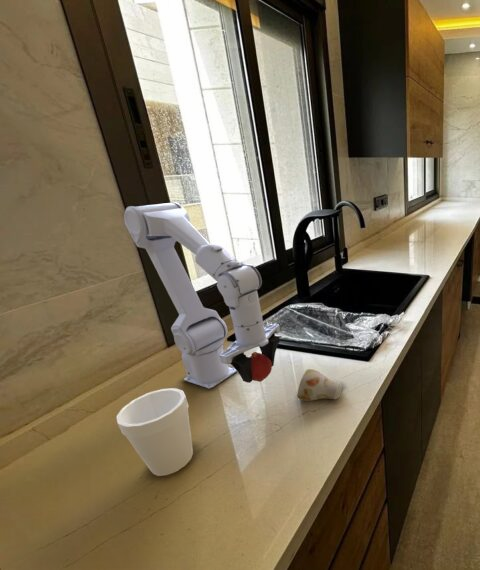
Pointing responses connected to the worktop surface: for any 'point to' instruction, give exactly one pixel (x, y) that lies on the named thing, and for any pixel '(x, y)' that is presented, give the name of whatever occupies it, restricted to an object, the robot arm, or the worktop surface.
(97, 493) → the worktop surface
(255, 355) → the red round piece
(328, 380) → the white spotted tapered part
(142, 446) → the foam cup
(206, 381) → the robot arm
